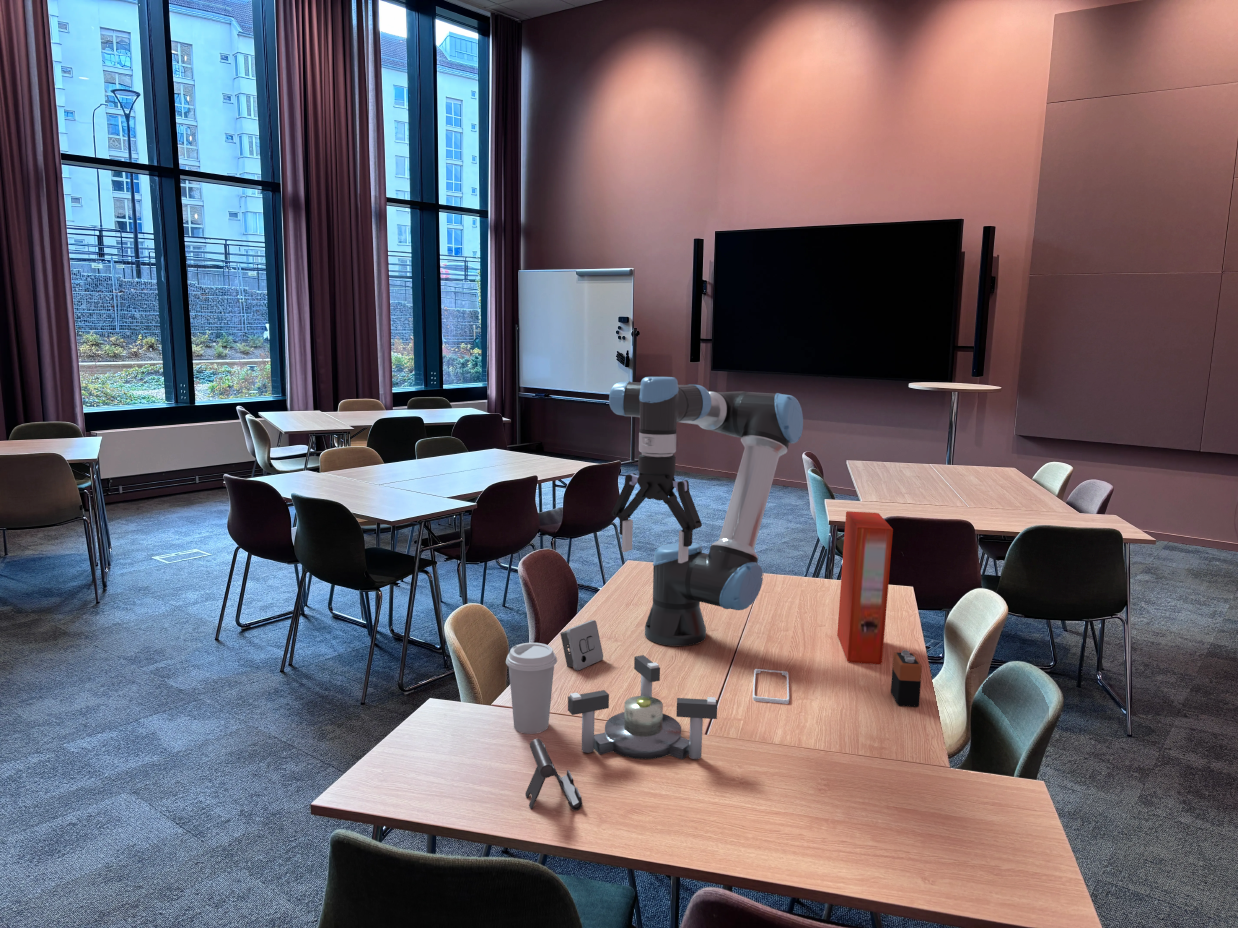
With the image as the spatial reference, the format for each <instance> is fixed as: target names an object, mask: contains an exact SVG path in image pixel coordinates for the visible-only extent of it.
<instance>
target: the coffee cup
mask: <svg viewBox="0 0 1238 928" xmlns="http://www.w3.org/2000/svg"><path fill="white" fill-rule="evenodd" d="M556 655H557V654H556V653H555V652H554V651H553V648H552V647H551V646H550V645H548V644H546V643H540V642H525V643H519V644H516V645H514V646H512V647H511V648H510V650H509V653H507V656H506V660H505V664H506V666H508V675H509V686H510V695H511V706H512V707H511V708H512V719H513V727H514V729H515V731H516V732H519V733H521V734H526V735H533V734H534V735H535V734H540V733H543V732H544V731H546V730H547V729H548V728H549V724H550V712H551V705H552V704H551V701H552V691H553V681H554V674H555V673H554V671H555V665H556V664H557V663H558V659H557V656H556Z"/></svg>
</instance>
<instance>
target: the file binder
mask: <svg viewBox="0 0 1238 928" xmlns="http://www.w3.org/2000/svg"><path fill="white" fill-rule="evenodd" d="M844 523H845V524H844V536H843V537H844V539H843V548H842V549H843V551H842V566H841V578H840V588H839V589H840V592H839V605H838V620H837V632H836V633H837V634H836V636H837V638H838V640H839V641H838V642H839V643H840V646H841V649H842V651H843V654H844V656H845V660H846V661H847V662H848V663H853V664H865V665H880V666H881V665H882V664H883V655H884V643H885V632H886V631H885V630H886V618H887V607H888V594H889V585H890V584H889V582H890V570H891V559H892V558H891V557H892V556H891V555H892V545H893V534H894V533H893V532H894V529H893V528H892V526H890V524H889V523H888V522H887V521H886V519H885V518H884V517H883V516H882V515H881V514H880V513H878V512H869V511H868V512H867V511H850V510H849V511H848V510H846V511H845V522H844Z"/></svg>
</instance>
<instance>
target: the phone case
mask: <svg viewBox="0 0 1238 928" xmlns="http://www.w3.org/2000/svg"><path fill="white" fill-rule="evenodd" d="M753 672H754V673H753V687H752V700H753V701H755V702H761V703H762V702H764V703H772V704H783V705H788V704H789V703H790V688H789V687H790V685H789V684H790V683H789V682H790V681H789V672H788V671H784V670H773V669H760V668H755V669H754V670H753ZM761 672H769V673H781V676H785V678H786V692H787V694H786V695H787V697H786V698H776V697H765V696H757V695H756V694H755V687H756V676H757V675H756V674H761Z"/></svg>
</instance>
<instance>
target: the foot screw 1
mask: <svg viewBox="0 0 1238 928" xmlns="http://www.w3.org/2000/svg"><path fill="white" fill-rule="evenodd" d="M609 708H610V694H609V693H608V692H607V691H606V690H605V689H603V690H596V691H592V692H586V693H578V692H573V693H572V692H571V693H569V696H567V711H568V712H569V714H571V716H574V715H580V714H581V751H582V752H583V753H587V754H588V753H592V752H594V751H595V749H594V735H595V712H597V711H601V710H602V711H603V710H606V709H609Z"/></svg>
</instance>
